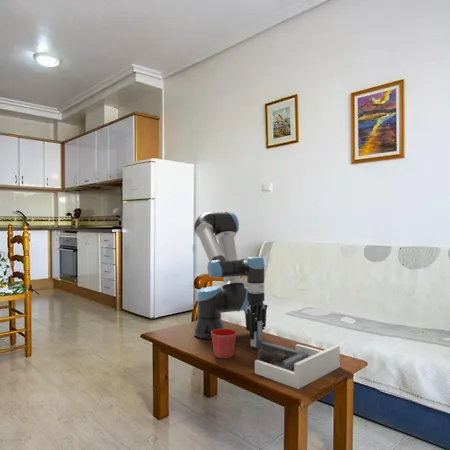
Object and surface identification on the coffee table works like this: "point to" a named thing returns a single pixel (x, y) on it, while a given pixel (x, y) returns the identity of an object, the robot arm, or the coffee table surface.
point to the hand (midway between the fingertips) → (256, 344)
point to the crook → (278, 349)
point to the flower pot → (223, 342)
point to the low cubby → (303, 367)
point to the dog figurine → (270, 356)
